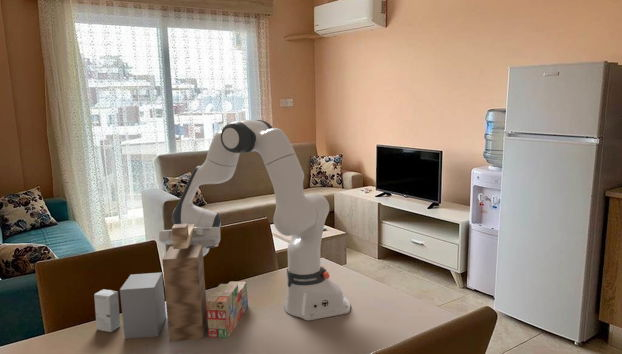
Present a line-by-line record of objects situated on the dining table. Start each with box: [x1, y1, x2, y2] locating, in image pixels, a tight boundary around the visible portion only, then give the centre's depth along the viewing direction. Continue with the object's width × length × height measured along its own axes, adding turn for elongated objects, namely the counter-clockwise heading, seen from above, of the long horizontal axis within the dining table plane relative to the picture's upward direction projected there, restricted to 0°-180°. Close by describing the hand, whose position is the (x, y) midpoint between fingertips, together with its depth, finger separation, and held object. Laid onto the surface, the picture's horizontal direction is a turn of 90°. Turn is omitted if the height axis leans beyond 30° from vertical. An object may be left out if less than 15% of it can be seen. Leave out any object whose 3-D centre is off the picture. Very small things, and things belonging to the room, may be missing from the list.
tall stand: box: [162, 244, 208, 343], centre depth 138 cm, size 10×12×26 cm
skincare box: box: [93, 288, 121, 333], centre depth 142 cm, size 6×4×12 cm
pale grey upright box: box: [119, 271, 167, 340], centre depth 141 cm, size 10×12×16 cm
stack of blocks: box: [206, 281, 249, 339], centre depth 145 cm, size 21×6×12 cm, turn 171°
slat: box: [171, 223, 195, 249], centre depth 140 cm, size 4×18×6 cm, turn 7°
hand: (187, 230), depth 145 cm, fingers closed on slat, 4 cm apart
